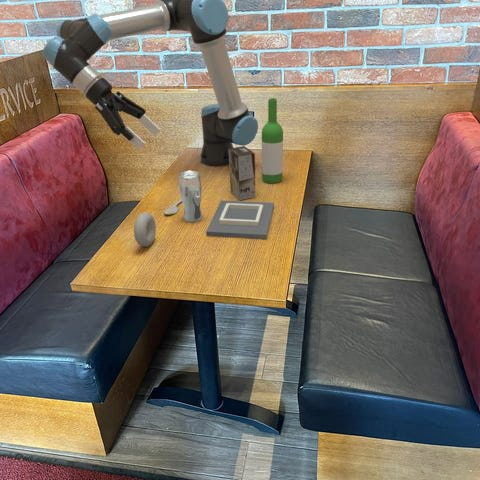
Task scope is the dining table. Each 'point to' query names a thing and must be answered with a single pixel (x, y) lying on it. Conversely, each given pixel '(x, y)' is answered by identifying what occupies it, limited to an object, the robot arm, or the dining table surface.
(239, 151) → the coffee box
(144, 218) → the donut
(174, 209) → the spoon
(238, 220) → the grey square plate
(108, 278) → the dining table surface
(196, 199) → the chrome tumbler
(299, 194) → the dining table surface
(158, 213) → the dining table surface
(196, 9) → the robot arm
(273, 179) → the wine bottle
